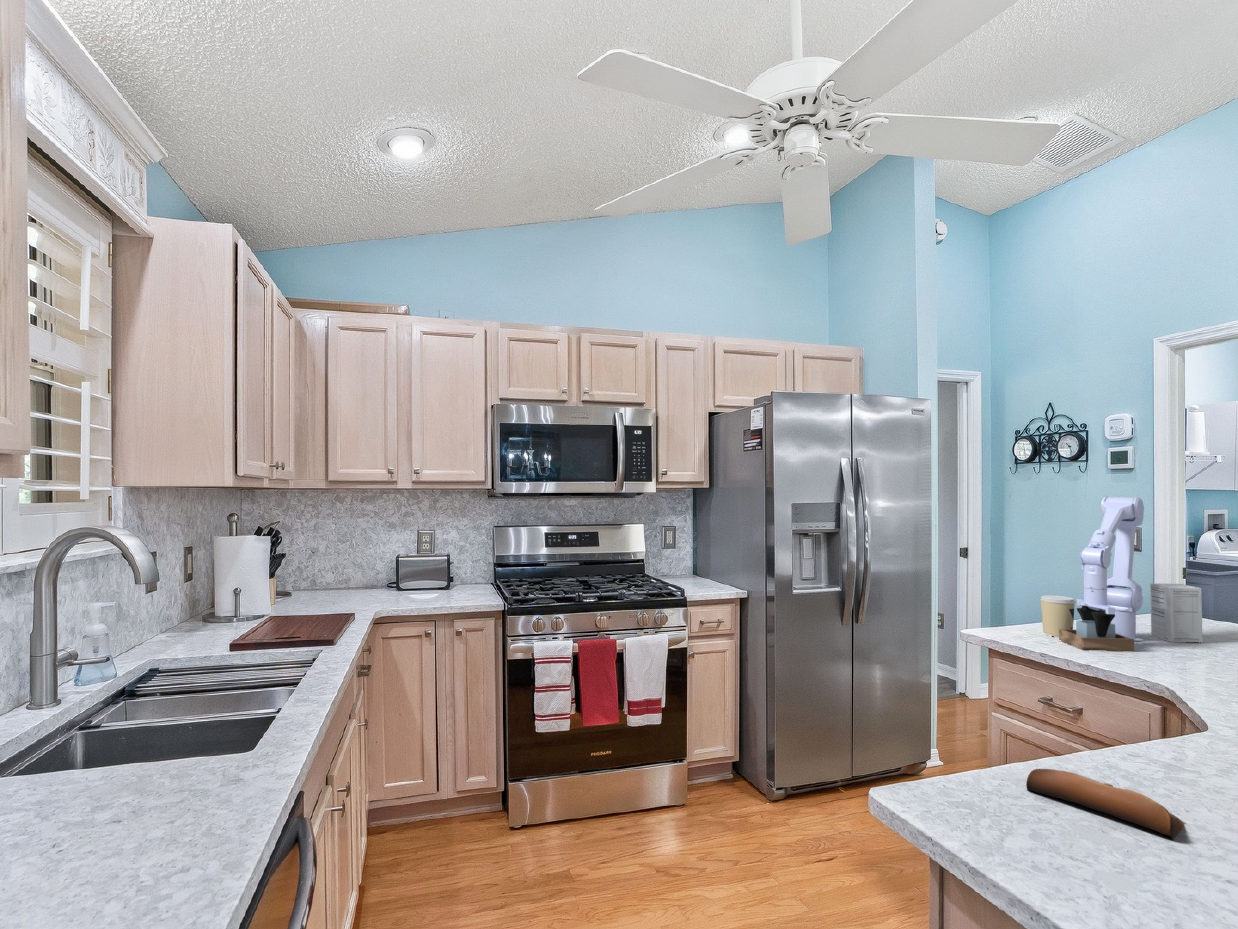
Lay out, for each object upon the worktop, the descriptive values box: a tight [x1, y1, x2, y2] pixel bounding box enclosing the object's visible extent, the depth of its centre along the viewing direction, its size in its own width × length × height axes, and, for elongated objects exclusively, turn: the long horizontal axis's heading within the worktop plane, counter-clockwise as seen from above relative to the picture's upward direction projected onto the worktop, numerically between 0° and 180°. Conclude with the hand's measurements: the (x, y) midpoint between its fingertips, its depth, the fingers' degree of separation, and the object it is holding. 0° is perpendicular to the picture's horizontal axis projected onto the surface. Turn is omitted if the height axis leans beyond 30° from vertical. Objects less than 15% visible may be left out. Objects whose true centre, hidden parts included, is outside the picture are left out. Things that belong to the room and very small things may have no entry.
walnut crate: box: [1058, 629, 1135, 652], centre depth 202 cm, size 12×14×4 cm
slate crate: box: [1075, 619, 1115, 638], centre depth 202 cm, size 5×8×5 cm, turn 86°
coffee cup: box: [1039, 594, 1076, 638], centre depth 216 cm, size 9×9×12 cm
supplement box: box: [1149, 583, 1203, 644], centre depth 213 cm, size 10×9×17 cm
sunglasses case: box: [1025, 768, 1187, 841], centre depth 99 cm, size 18×7×7 cm, turn 37°
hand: (1095, 634), depth 202 cm, fingers closed on slate crate, 5 cm apart
